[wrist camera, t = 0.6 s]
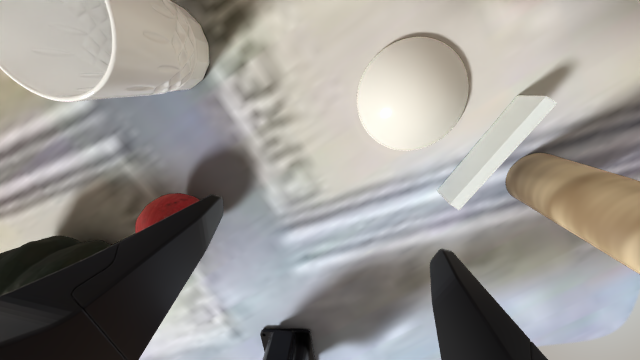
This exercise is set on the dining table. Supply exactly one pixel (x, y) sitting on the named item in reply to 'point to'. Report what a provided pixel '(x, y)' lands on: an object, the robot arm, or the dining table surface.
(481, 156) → the divider wall
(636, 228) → the pepper mill
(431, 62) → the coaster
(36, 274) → the squash
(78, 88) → the white cup
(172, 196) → the onion
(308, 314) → the dining table surface
